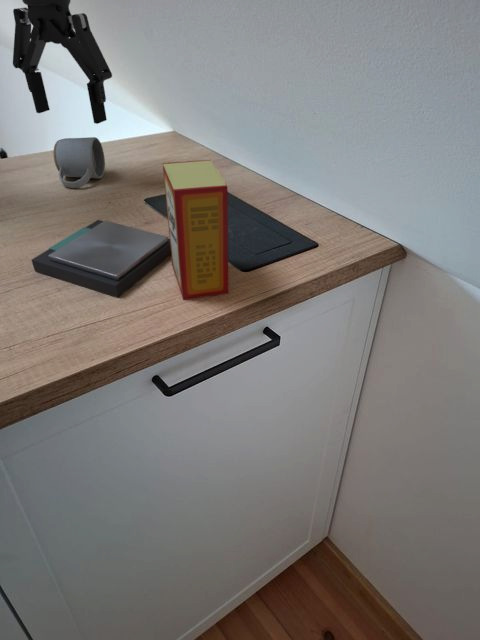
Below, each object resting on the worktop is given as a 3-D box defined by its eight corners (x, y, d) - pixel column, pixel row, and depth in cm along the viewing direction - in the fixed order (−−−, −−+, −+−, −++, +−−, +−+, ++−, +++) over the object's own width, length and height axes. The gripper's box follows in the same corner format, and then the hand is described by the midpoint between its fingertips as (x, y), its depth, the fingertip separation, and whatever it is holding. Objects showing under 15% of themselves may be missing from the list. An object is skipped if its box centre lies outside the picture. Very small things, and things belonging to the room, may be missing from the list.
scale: (34, 271, 72) (30, 258, 71) (100, 230, 83) (97, 218, 82) (118, 297, 68) (115, 284, 67) (175, 251, 79) (174, 238, 77)
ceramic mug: (69, 168, 104) (60, 130, 98) (107, 170, 104) (101, 132, 99) (51, 189, 96) (41, 148, 91) (93, 190, 96) (85, 150, 91)
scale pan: (49, 260, 71) (48, 255, 71) (106, 224, 80) (105, 220, 80) (117, 280, 68) (116, 275, 67) (168, 241, 77) (168, 236, 76)
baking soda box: (172, 265, 75) (162, 160, 65) (213, 260, 77) (210, 157, 66) (183, 299, 68) (173, 187, 58) (228, 293, 70) (227, 183, 60)
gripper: (119, -22, 77) (138, 121, 91) (1, -31, 85) (34, 103, 98) (88, -20, 72) (112, 131, 86) (-36, -29, 79) (5, 111, 93)
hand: (71, 116), depth 92 cm, fingers open, 13 cm apart
